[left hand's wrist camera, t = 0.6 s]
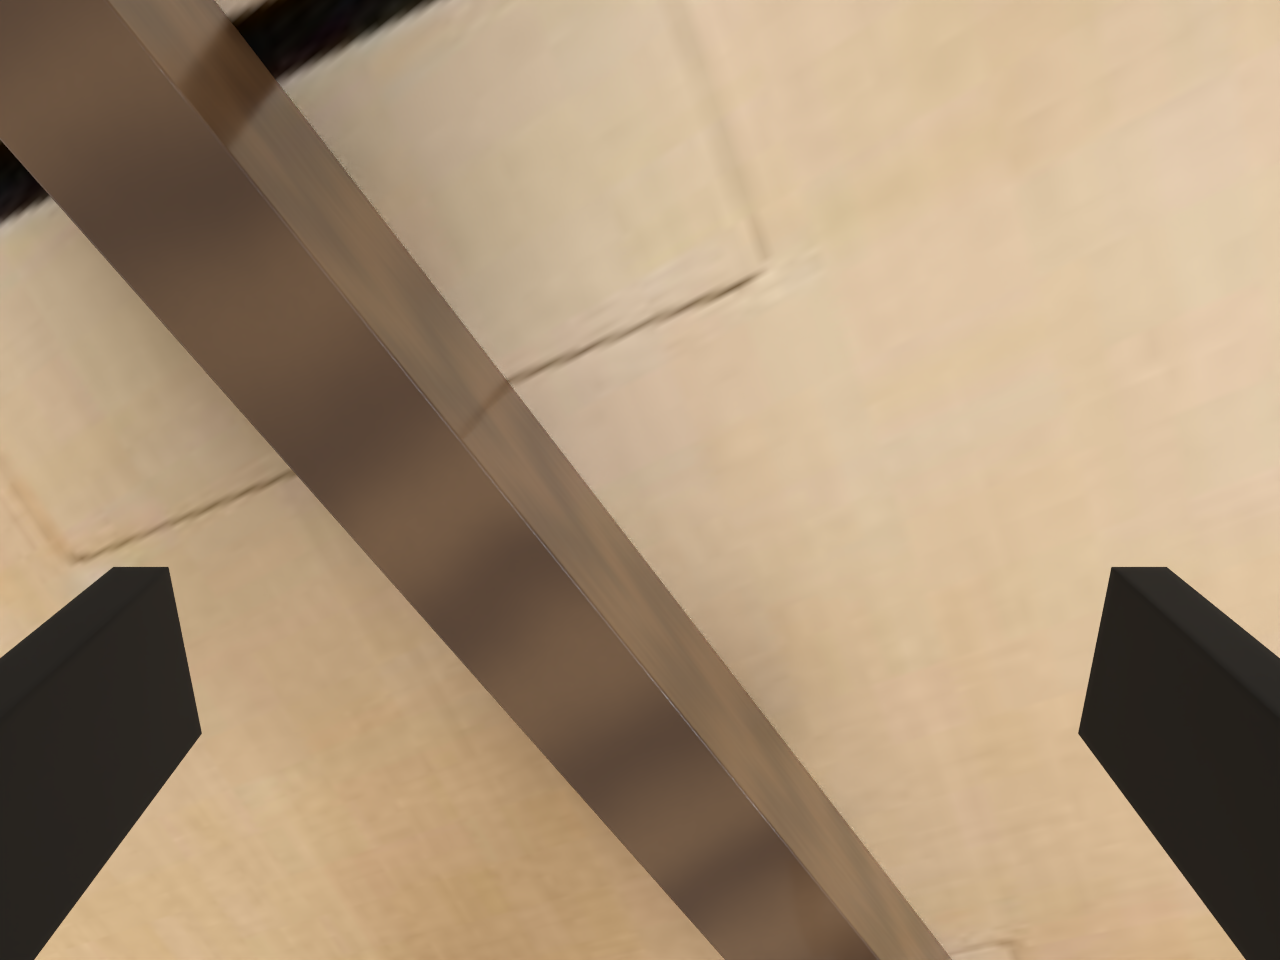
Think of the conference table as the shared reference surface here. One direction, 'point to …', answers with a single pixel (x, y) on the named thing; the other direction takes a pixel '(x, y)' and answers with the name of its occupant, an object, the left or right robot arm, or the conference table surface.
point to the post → (431, 461)
